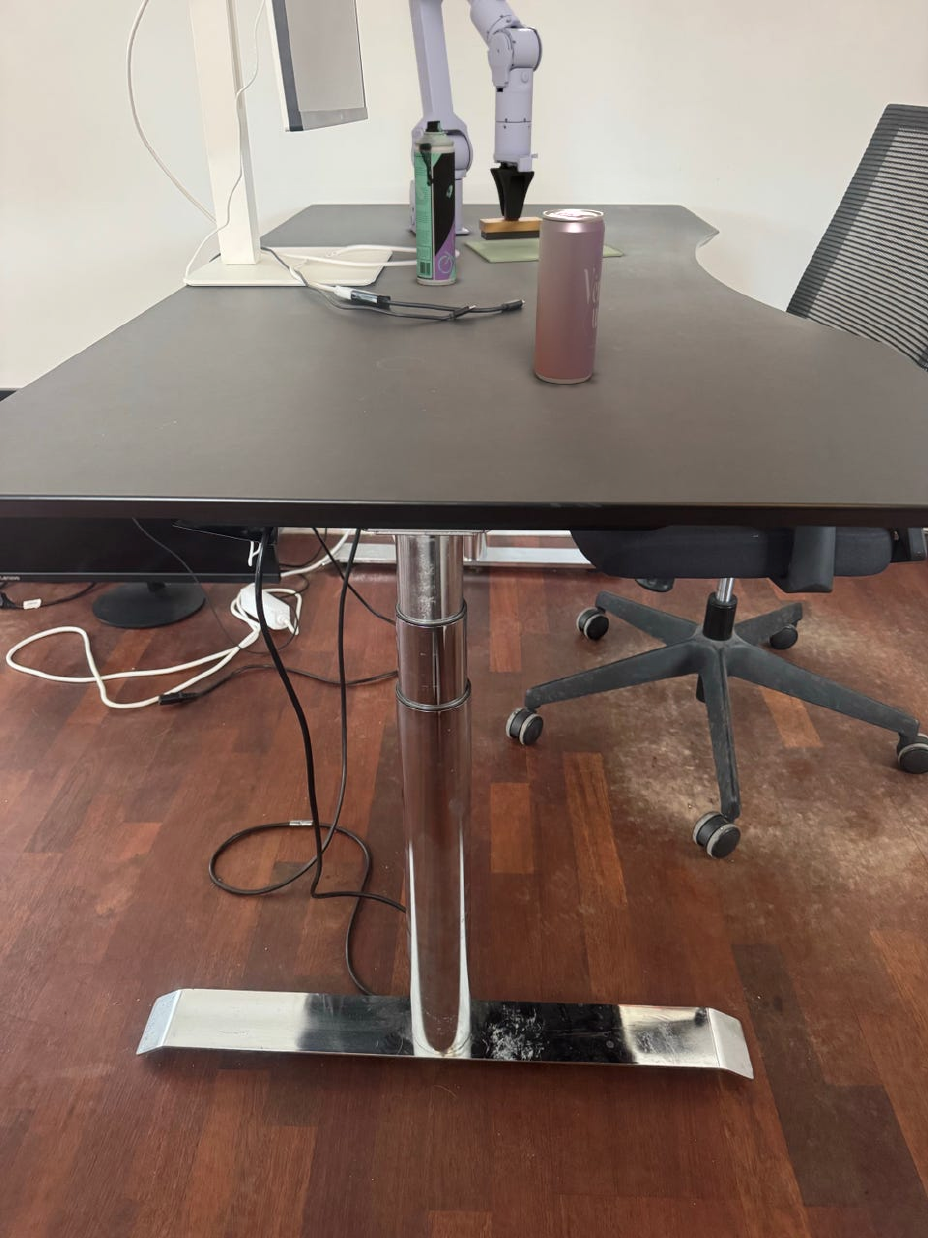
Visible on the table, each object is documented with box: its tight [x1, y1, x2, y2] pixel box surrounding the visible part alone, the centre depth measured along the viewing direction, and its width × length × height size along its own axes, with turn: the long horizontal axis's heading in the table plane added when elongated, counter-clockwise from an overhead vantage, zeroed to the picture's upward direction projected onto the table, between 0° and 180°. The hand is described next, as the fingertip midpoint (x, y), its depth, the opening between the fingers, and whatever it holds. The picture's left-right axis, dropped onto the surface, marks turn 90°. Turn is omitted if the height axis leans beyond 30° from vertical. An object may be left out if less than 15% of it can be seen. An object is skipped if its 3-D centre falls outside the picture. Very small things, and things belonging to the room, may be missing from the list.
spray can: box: [413, 121, 457, 286], centre depth 119 cm, size 6×6×20 cm
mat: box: [465, 238, 623, 264], centre depth 144 cm, size 22×16×1 cm
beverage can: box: [533, 208, 606, 385], centre depth 84 cm, size 6×6×15 cm
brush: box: [478, 208, 543, 241], centre depth 142 cm, size 10×4×7 cm, turn 104°
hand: (510, 216), depth 142 cm, fingers closed on brush, 2 cm apart
